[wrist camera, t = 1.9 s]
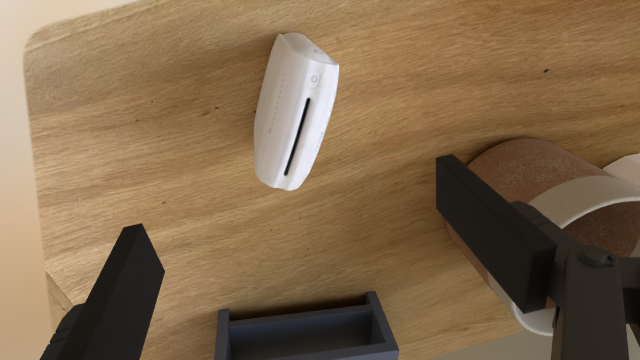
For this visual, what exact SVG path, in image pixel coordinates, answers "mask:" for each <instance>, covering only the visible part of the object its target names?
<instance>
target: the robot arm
mask: <svg viewBox="0 0 640 360" xmlns="http://www.w3.org/2000/svg"><path fill="white" fill-rule="evenodd" d="M436 208H437V210H438V211H439V212H440V213H441V214H442V216H443V217H444V218H445V219H446V221H447V222H448V223H449V224H450V225H451V227H452V228H453V229H454V230H455V231H456V233H457V234H458V235H459V236H460V238H461V239H462V240H463V241H464V242H465V244H466V245H467V246H468V247H469V249H470V250H471V251H472V252H473V253H474V255H475V256H476V257H477V258H478V259H479V261H480V262H481V263H482V264H483V266H484V267H485V268H486V269H487V270H488V272H489V273H490V274H491V275H492V277H493V278H494V279H495V280H496V281H497V283H498V284H499V285H500V286H501V287H502V289H503V290H504V291H505V292H506V294H507V295H508V296H509V297H510V298H511V300H512V301H513V302H514V303H515V305H516V306H517V307H518V308H519V309H520V311H521V312H522V313H523V314H526V313H530V312H534V311H538V310H542V309H545V307H546V302H547V296H549V297H550V298H551V299H552V300H553V302H554V303H555V304H556V309H555V313H554V318H553V323H552V328H553V340H552V341H553V342H552V353H551V360H629V354H628V344H627V332H626V324H629V325H630V327H631V329H632V331H633V333H634V336H635V338H636V340H637V342H638V344H639V346H640V257H616V256H615V255H613V254H612V253H611V252H609V251H607V250H605V249H604V248H601V247H597V246H594V245H584V244H582V245H581V244H580V243H579V242H577V241H576V240H575V239H574V238H572V237H571V236H570V235H569V234H567V233H566V232H565V231H564V230H562V229H561V228H560V227H559V226H557V225H556V224H555V223H554V222H551V220H550V219H549V218H547V217H546V216H543V214H542V213H541V212H540V211H538V210H537V209H536V208H535V207H533V206H532V205H529V204H527V203H524V202H522V201H520V200H518V201H513V202H508V201H506V200H505V199H504V198H503V197H502V196H501V195H499V194H498V193H497V192H496V191H495V190H494V189H492V188H491V187H490V186H489V185H488V184H487V183H485V182H484V181H483V180H482V179H481V178H480V177H478V176H477V175H476V174H475V173H474V172H473V171H471V170H470V169H469V168H468V167H467V166H466V165H464V164H463V163H462V162H461V161H460V160H459V159H457V158H456V157H455V156H454V155H453V154H451V155H446V156H442V157H437V158H436ZM164 273H165V270H164V268H163V266H162V264H161V262H160V260H159V258H158V256H157V254H156V252H155V250H154V247H153V245H152V243H151V241H150V239H149V237H148V235H147V233H146V231H145V229H144V227H143V225H142V223H141V224H136V225H132V226H127V227H124V228H123V230H122V232H121V234H120V236H119V238H118V239H117V241H116V243H115V245H114V247H113V249H112V251H111V253H110V255H109V257H108V259H107V261H106V263H105V265H104V267H103V269H102V271H101V273H100V275H99V277H98V279H97V281H96V283H95V285H94V287H93V288H92V290H91V292H90V294H89V296H88V298H87V300H86V302H85V303H83V304H78V305H75V306H74V307H73V308H72V309H71V310H70V311H69V312H68V313H67V314H66V315H65V316H64V317H63V318H62V320H61V322H60V324H59V326H58V328H57V329H56V333H55V334H54V335H53V337H52V338H51V340H50V344H49V345H48V346H47V347H46V349H45V351H44V353H43V355H42V357H41V358H40V360H139V359H140V356H141V352H142V349H143V346H144V342H145V339H146V335H147V332H148V328H149V325H150V321H151V318H152V315H153V311H154V308H155V304H156V301H157V297H158V294H159V290H160V287H161V284H162V280H163V277H164Z"/></svg>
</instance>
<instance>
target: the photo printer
mask: <svg viewBox="0 0 640 360" xmlns="http://www.w3.org/2000/svg"><path fill="white" fill-rule="evenodd" d="M338 77H339V64H338V63H337V62H336V61H334V60H333V59H332V58H331V57H330V56H328V55H327V54H326V53H325V52H324V51H323V50H322V49H321V48H319V47H318V46H316V45H315V44H314V43H313V42H312V41H310V40H309V39H308V38H307V37H306V36H304V35H302V34H300V33H295V32H290V33H286V34H284V35H282V34H279V35H278V36H277V38H276V40H275V43H274V45H273V48H272V51H271V54H270V58H269V61H268V65H267V68H266V72H265V76H264V80H263V84H262V88H261V92H260V97H259V101H258V106H257V110H256V115H255V121H254V161H255V174H256V176H257V178H258V179H259V180H260V181H262V182H263V183H264V184H266V185H268V186H270V187H272V188H281V189H284V190H287V191H291V190H295V189H297V188H299V187H300V185H301V184H302V183H303V181H304V180H305V178H306V177H307V176H308V174H309V172H310V170H311V168H312V165H313V163H314V161H315V158H316V156H317V153H318V151H319V148H320V145H321V143H322V140H323V137H324V134H325V131H326V128H327V125H328V121H329V118H330V115H331V111H332V108H333V104H334V100H335V96H336V89H337V84H338Z"/></svg>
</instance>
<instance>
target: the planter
mask: <svg viewBox="0 0 640 360" xmlns="http://www.w3.org/2000/svg"><path fill="white" fill-rule="evenodd" d="M467 167H468V168H469V169H470V170H471V171H473V172H474V173H475V174H476V175H477V176H478V177H480V178H481V179H482V180H483V181H484V182H485V183H487V184H488V185H489V186H490V187H491V188H492V189H494V190H495V191H496V192H497V193H498V194H499V195H501V196H502V197H503V198H504V199H505V200H506V201H508V202H513V201H518V200H520V201H522V202H524V203H527V204H529V205H532V206H533V207H535V208H536V209H537V210H538V211H540V212H541V213H542V214H543V216H546V217H547V218H549V219H550V220H551V222H554V223H555V224H556V225H557V226H559V227H560V228H561V229H562V230H564V231H565V232H566V233H567V234H569V235H570V236H571V237H572V238H574V239H575V240H576V241H577V242H579V243H580V244H581V245H582V244H584V245H594V246H597V247H601V248H604V249H605V250H607V251H609V252H611V253H612V254H613V255H615V256H616V257H640V190H639V189H637V188H635V187H633V186H631V185H629V184H628V183H626V182H624V181H622V180H620V179H618V178H616V177H615V176H613V175H611V174H609V173H607V172H605V171H603V170H602V169H600V168H598V167H596V166H594V165H592V164H590V163H589V162H587V161H585V160H583V159H581V158H579V157H577V156H576V155H574V154H572V153H570V152H568V151H566V150H564V149H562V148H561V147H559V146H557V145H555V144H553V143H551V142H549V141H546V140H543V139H538V138H520V139H514V140H510V141H507V142H504V143H501V144H499V145H496V146H494V147H492V148H491V149H489V150H487V151H486V152H484V153H482V154H481V155H480V156H478V157H477V158H476V159H475V160H473V161H472V162H471V163H470V164H469V165H468V166H467ZM445 224H446V228H447V231H448V233H449V235H450V237H451V238H452V239H453V241H454V242H455V243H456V245H457V246H458V247H459V248H460V250H461V251H462V252H463V253H464V255H465V256H466V257H467V259H468V260H469V261H470V262H471V264H472V265H473V266H474V268H475V269H476V270H477V271H478V273H479V274H480V275H481V276H482V278H483V279H484V280H485V282H486V283H487V284H488V285H489V287H490V288H491V289H492V290H493V292H494V293H495V294H496V296H497V297H498V298H499V299H500V301H501V302H502V303H503V304H504V306H505V307H506V308H507V310H508V311H509V312H510V313H511V315H512V316H513V317H514V318H515V320H516V321H517V322H518V323H519V324H520V325H521V326H522V327H523V328H525V329H526V330H528V331H530V332H533V333H536V334H539V335H545V336H553V328H552V323H553V318H554V313H555V309H556V304H555V303H554V302H553V300H552V299H551V298H550V297H549V296H547V302H546V307H545V309H542V310H538V311H534V312H530V313H526V314H523V313H522V312H521V311H520V309H519V308H518V307H517V306H516V305H515V303H514V302H513V301H512V300H511V298H510V297H509V296H508V295H507V294H506V292H505V291H504V290H503V289H502V287H501V286H500V285H499V284H498V283H497V281H496V280H495V279H494V278H493V277H492V275H491V274H490V273H489V272H488V270H487V269H486V268H485V267H484V266H483V264H482V263H481V262H480V261H479V259H478V258H477V257H476V256H475V255H474V253H473V252H472V251H471V250H470V249H469V247H468V246H467V245H466V244H465V242H464V241H463V240H462V239H461V238H460V236H459V235H458V234H457V233H456V231H455V230H454V229H453V228H452V227H451V225H450V224H449V223H448V222H447V221H446V219H445Z"/></svg>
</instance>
